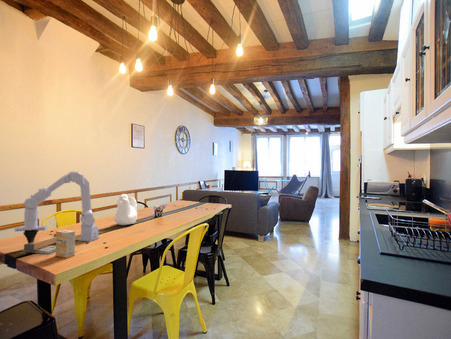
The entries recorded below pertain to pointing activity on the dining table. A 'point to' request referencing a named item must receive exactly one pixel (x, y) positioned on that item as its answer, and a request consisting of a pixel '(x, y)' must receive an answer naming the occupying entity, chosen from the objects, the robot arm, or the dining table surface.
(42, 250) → the label plate
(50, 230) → the dining table surface
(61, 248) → the supplement box
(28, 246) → the tan wooden bar
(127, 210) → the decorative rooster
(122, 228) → the dining table surface
